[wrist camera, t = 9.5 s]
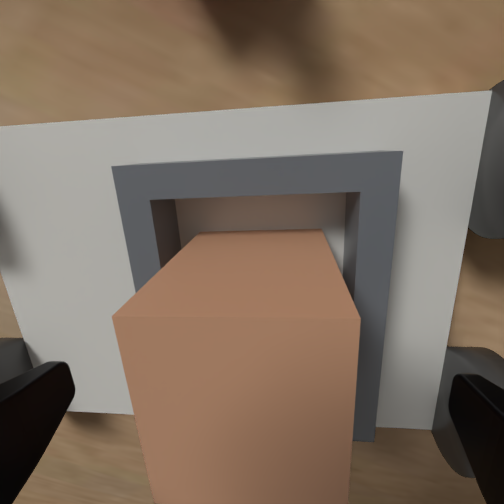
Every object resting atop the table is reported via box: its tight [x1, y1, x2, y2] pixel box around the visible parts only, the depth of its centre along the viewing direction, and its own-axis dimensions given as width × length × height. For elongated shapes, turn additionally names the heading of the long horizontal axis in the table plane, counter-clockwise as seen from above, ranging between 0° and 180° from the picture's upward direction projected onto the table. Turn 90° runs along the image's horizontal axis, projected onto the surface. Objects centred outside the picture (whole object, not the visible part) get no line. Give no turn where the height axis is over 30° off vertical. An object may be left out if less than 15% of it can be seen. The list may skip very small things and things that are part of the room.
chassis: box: [0, 80, 504, 478], centre depth 11 cm, size 13×21×4 cm, turn 93°
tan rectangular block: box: [112, 229, 361, 504], centre depth 9 cm, size 5×4×6 cm
